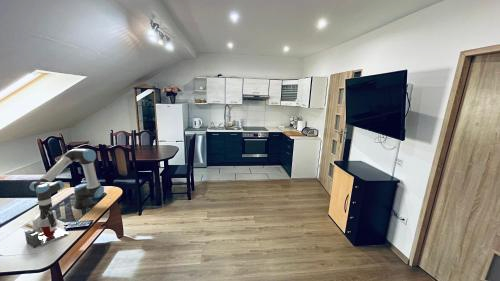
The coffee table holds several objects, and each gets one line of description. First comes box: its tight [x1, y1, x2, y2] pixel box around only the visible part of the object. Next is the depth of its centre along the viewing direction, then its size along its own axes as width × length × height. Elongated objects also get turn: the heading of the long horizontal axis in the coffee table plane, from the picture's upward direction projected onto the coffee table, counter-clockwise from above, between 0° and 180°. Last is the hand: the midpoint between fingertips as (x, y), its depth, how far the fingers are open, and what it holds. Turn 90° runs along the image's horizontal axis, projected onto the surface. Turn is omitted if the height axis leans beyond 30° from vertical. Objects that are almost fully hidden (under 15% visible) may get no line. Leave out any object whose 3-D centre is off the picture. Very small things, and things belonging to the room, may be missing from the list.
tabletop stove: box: [24, 226, 70, 249], centre depth 169 cm, size 22×17×12 cm
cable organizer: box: [31, 210, 58, 232], centre depth 184 cm, size 15×11×12 cm
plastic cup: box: [39, 218, 58, 237], centre depth 170 cm, size 11×11×12 cm
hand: (49, 228), depth 170 cm, fingers closed on plastic cup, 11 cm apart
